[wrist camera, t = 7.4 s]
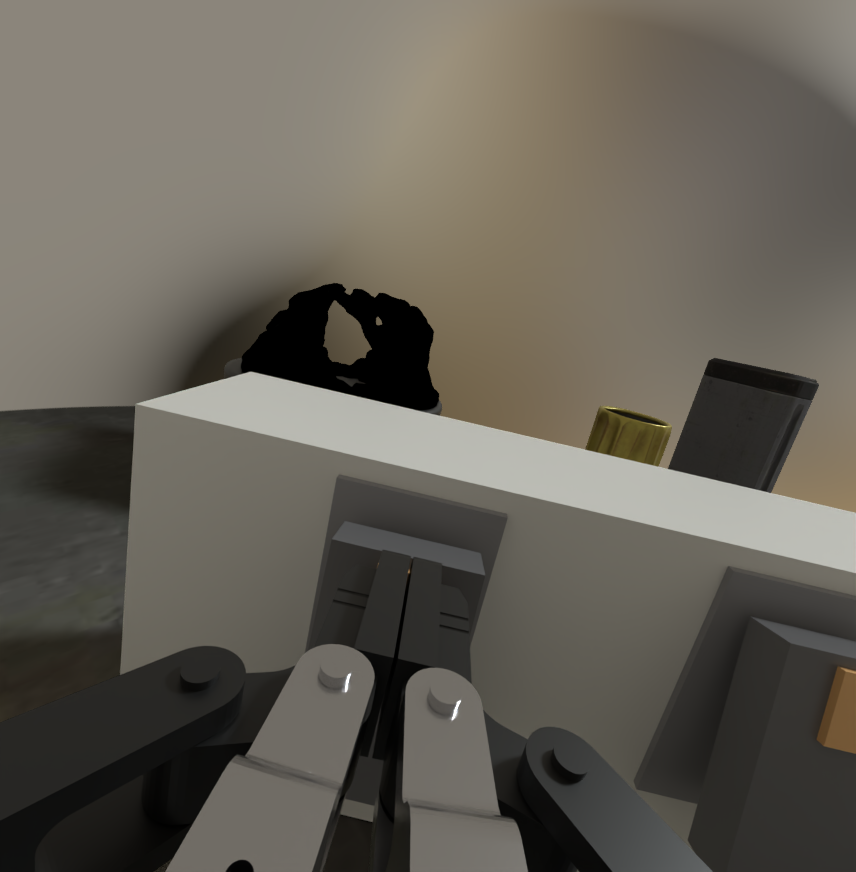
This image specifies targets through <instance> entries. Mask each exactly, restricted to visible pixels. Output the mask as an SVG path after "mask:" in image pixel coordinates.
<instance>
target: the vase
mask: <svg viewBox="0 0 856 872" xmlns="http://www.w3.org/2000/svg"><path fill="white" fill-rule="evenodd" d="M671 429H672V426H671V425H670V424H669V423H667V422H665V421H662V420H660V419H657V418H654V417H651V416H648V415H644V414H641V413H637V412H634V411H630V410H626V409H621V408H617V407H611V406H600V407H599V409H598V412H597V415H596V418H595V422H594V425H593V428H592V431H591V434H590V437H589V440H588V443H587V446H586V449H585V450H589V451H593V452H597V453H601V454H606V455H610V456H614V457H618V458H623V459H627V460H631V461H636V462H640V463H644V464H648V465H653V466H657V467H658V466H659V464H660V461H661V458H662V456H663V453H664V451H665V448H666V445H667V443H668V440H669V437H670V434H671Z"/></svg>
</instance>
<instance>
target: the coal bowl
mask: <svg viewBox="0 0 856 872" xmlns="http://www.w3.org/2000/svg"><path fill="white" fill-rule="evenodd" d="M345 290H346V289H345V288H344V287H343V286H342V284H338V283H333V284H328V285H323V286H321V287H318V288H316V289H313V290H309V291H304V292H299V293H297V294H296V295H294V296H293V297H292V298H291V299H290V300H289V308H288V309H287V310H283V311H279V312H278V313H277V314H276V315H275V316H274V317H273V319H272V320H271V322H270V323H269V324H268V325H267V326H266V329H267V331H265V332H263V333H262V334H260V335H259V337H258V339H257V340H256V342H255V343H254V344H253V345H252V346H251V348H250V349H248V350H247V351H246V352H245V353H244V354H243V356H242V358H239V359H234V360H232V361H229V362H228V363H227V364H226V366H225V369H224V379H227V378H230V377H234V376H237V375H241V374H244V373H248V372H254V373H259V374H263V375H267V376H271V377H276V378H280V379H284V380H289V381H293V382H297V383H301V384H306V385H310V386H314V387H319V388H323V389H327V390H331V391H336V392H340V393H344V394H349V395H353V396H357V397H361V398H366V399H370V400H374V401H379V402H383V403H387V404H391V405H396V406H400V407H404V408H409V409H413V410H417V411H421V412H426V413H430V414H434V415H439V416H440V414H441V410H442V404H441V402H440V401H439V393H438V392H437V391H436V390H435V389H434V387H433V386H432V382H431V378H430V374H429V371H428V368H427V367H428V363H429V351H430V347H431V344H432V341H433V333H434V331H433V329H432V328H431V326H430V325H429V324H428V322H427V319H426V318H425V317H424V315H423V313H422V312H421V311H420V309H419V308H418V307H415V306H410V305H409V303H408V302H406V301H405V300H402V299H397V298H394V297H391V296H389V295H387V294H385V293H379V294H378V295H377V296H376V297H375V298H374V297H373V296H371V295H370V294H369V293H367V292H366V291H364V290H362V289H354V290H353V292H352V294H351V295H348V294H346V293H345ZM334 300H336V301H337V302H338V303H339V304H340V305H341V306H342V307H344V308H345V310H346V312H347V313H349V314H350V315H352V316H353V317H354V318H356V319H357V320H358V322H359V323H360V324H361V327H362V330H363V333H364V336H365V338H366V339H367V341H368V342H369V344H370V346H371V348H372V350H370V351H368V352H367V355H366V358H360V359H358V360H356V361H355V362H354V363H353V364H352V365H347V364H341V363H339V362H332V361H331V360H330V359H329V357H328V351H327V348H325V347H323V345H324V341H325V339H324V335H325V326H326V324H327V321H328V310H329V308H330V306H331V304H332V302H333V301H334ZM376 317H379V318H380V319H381V321H382V325H379V326H378V325H376Z"/></svg>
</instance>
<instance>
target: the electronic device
mask: <svg viewBox="0 0 856 872" xmlns="http://www.w3.org/2000/svg"><path fill="white" fill-rule="evenodd" d="M816 382H817V381H816V380H814V379H810V378H806V377H802V376H799V375H794V374H790V373H785V372H780V371H776V370H770V369H766V368H761V367H756V366H751V365H747V364H742V363H737V362H732V361H727V360H722V359H717V358H714V359H711V360H709V362H708V365H707V367H706V370H705V372H704V375H703V378H702V380H701V383H700V386H699V388H698V391H697V394H696V396H695V399H694V401H693V404H692V407H691V409H690V412H689V415H688V417H687V420H686V422H685V425H684V428H683V430H682V433H681V436H680V439H679V441H678V444H677V446H676V449H675V451H674V454H673V457H672V460H671V462H670V465H669V468H668V469H670V470H674V471H678V472H683V473H687V474H691V475H696V476H700V477H704V478H708V479H713V480H717V481H721V482H726V483H730V484H734V485H738V486H743V487H747V488H751V489H756V490H760V491H764V492H768V493H771V491H772V489H773V487H774V485H775V483H776V481H777V478H778V476H779V474H780V472H781V469H782V467H783V465H784V463H785V460H786V458H787V456H788V454H789V451H790V449H791V447H792V445H793V442H794V440H795V438H796V436H797V434H798V431H799V429H800V427H801V425H802V422H803V420H804V418H805V416H806V414H807V411H808V409H809V407H810V405H811V402H812V401H811V400H813V398H814V395H815V393H816V391H817V389H818V386H819V384H818V383H816Z"/></svg>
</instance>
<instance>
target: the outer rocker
mask: <svg viewBox="0 0 856 872" xmlns="http://www.w3.org/2000/svg"><path fill="white" fill-rule="evenodd" d="M383 549H384V550H388V551H392V552H396V553H401V554H405V555H409V556H411V559H410V564H409V570H408V575H409V571H410V567H411V563H412V560H413V557H418V558H422V559H426V560H431V561H435V562H439V563H442V579H441V584H443V585H447V586H451V587H455V588H459V589H460V591H461V593H462V594H463V596H464V598H465V599H466V601H467V603H468V617H469V619H468V622H469V637H470V633H471V630H472V626H473V622H474V618H475V614H476V610H477V606H478V602H479V598H480V594H481V590H482V587H483V583H484V579H485V572H484V567H483V562H482V557H481V553H478V552H474V551H470V550H465V549H461V548H457V547H453V546H449V545H444V544H440V543H436V542H432V541H427V540H423V539H419V538H415V537H411V536H406V535H402V534H398V533H394V532H389V531H385V530H381V529H377V528H372V527H368V526H364V525H360V524H356V523H351V522H347V521H345V522H344V523H343V524H342V526H341V527H340V528H339V530H338V531H337V533H336V534H335V535H334V537H333V538H332V540H331V545H330V549H329V554H328V559H327V563H326V568H325V573H324V577H323V582H322V587H321V591H320V596H319V601H318V605H317V610H316V615H315V619H314V624H313V629H312V633H311V638H310V643H309V647H308V651H309V650H310V649H312V648H313V647H314V645H315V642H316V640H317V637H318V635H319V632H320V630H321V628H322V625H323V623H324V620H325V618H326V615H327V613H328V611H329V608H330V606H331V603H332V602H333V598H334V596H335V593H336V591H337V589H338V586H339V584H340V581H341V579H342V576H343V574H344V573H346V572H347V571H348V570H350V569H351V568H352V567H354V566H355V565H356V564H358V565H362V566H366V567H370V568H374V569H377V567H378V564H379V560H380V557H381V553H382V550H383ZM407 579H408V576H407ZM406 583H407V582H406ZM380 711H381V709H380ZM379 716H380V713H379ZM378 722H379V717H378V721H377V724H376V728H375V732H374V736H373V740H372V744H371V748H370V752H369V755H368V757H364V756H359V760H358V764H357V768H356V772H355V776H354V779H353V782H352V784H351V786H350V788H349V789H348V791H347V793H346V797H345V799H348V800H352V801H356V802H360V803H364V804H368V805H373V806H374V804H375V799H376V795H377V792H378V788H379V784H380V781H381V775H382V768H383V762H384V761H382V760H378V759H374V758H372V755H373V749H374V744H375V738H376V733H377V727H378Z"/></svg>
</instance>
